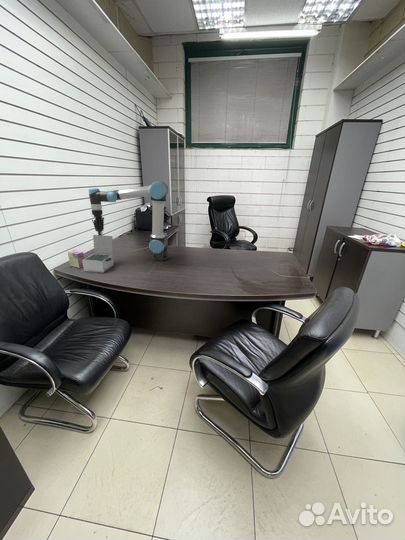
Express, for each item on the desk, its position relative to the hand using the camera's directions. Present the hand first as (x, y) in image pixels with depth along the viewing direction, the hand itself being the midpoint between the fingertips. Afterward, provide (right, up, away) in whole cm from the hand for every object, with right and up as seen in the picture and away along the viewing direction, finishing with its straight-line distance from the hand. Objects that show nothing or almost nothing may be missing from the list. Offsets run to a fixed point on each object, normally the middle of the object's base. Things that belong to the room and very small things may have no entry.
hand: (101, 239), depth 178 cm
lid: (+3, -5, -4) cm, 7 cm away
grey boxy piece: (+1, -24, -6) cm, 25 cm away
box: (-17, -22, -3) cm, 28 cm away
